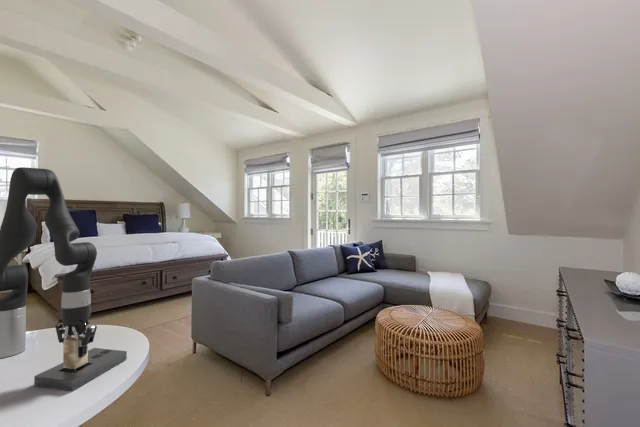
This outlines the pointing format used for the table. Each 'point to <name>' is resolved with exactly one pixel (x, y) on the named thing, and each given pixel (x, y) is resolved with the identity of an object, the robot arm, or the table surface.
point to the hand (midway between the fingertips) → (75, 355)
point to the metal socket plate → (80, 370)
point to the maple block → (73, 354)
